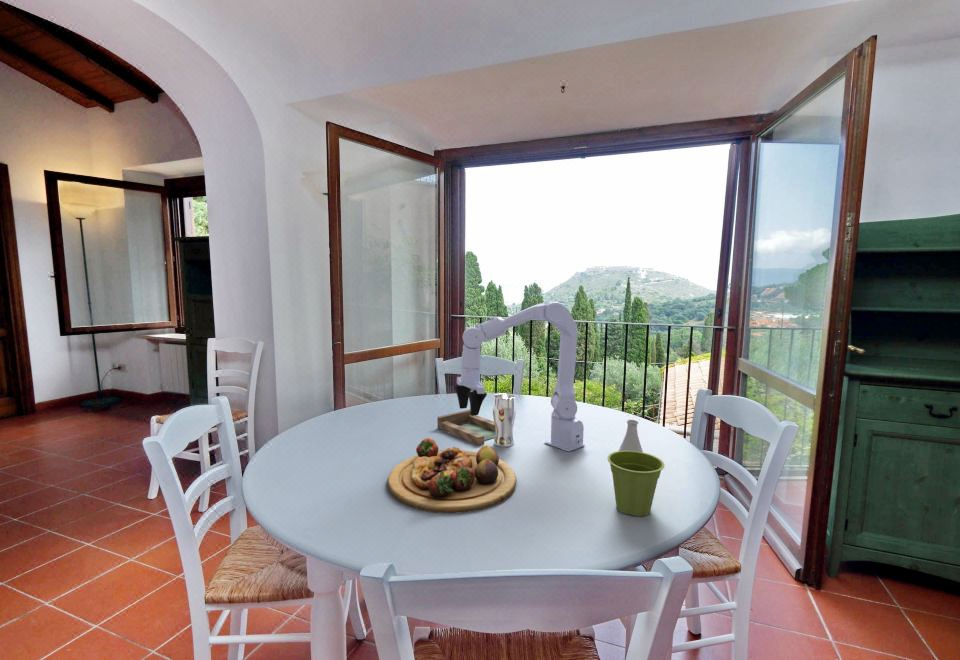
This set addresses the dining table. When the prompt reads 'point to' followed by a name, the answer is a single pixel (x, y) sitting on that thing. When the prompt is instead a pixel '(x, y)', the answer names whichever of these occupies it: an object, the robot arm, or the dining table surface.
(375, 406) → the dining table surface
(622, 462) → the plant pot
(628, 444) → the flask
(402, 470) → the wooden plate with food
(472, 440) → the cradle
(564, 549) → the dining table surface
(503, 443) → the beer glass
